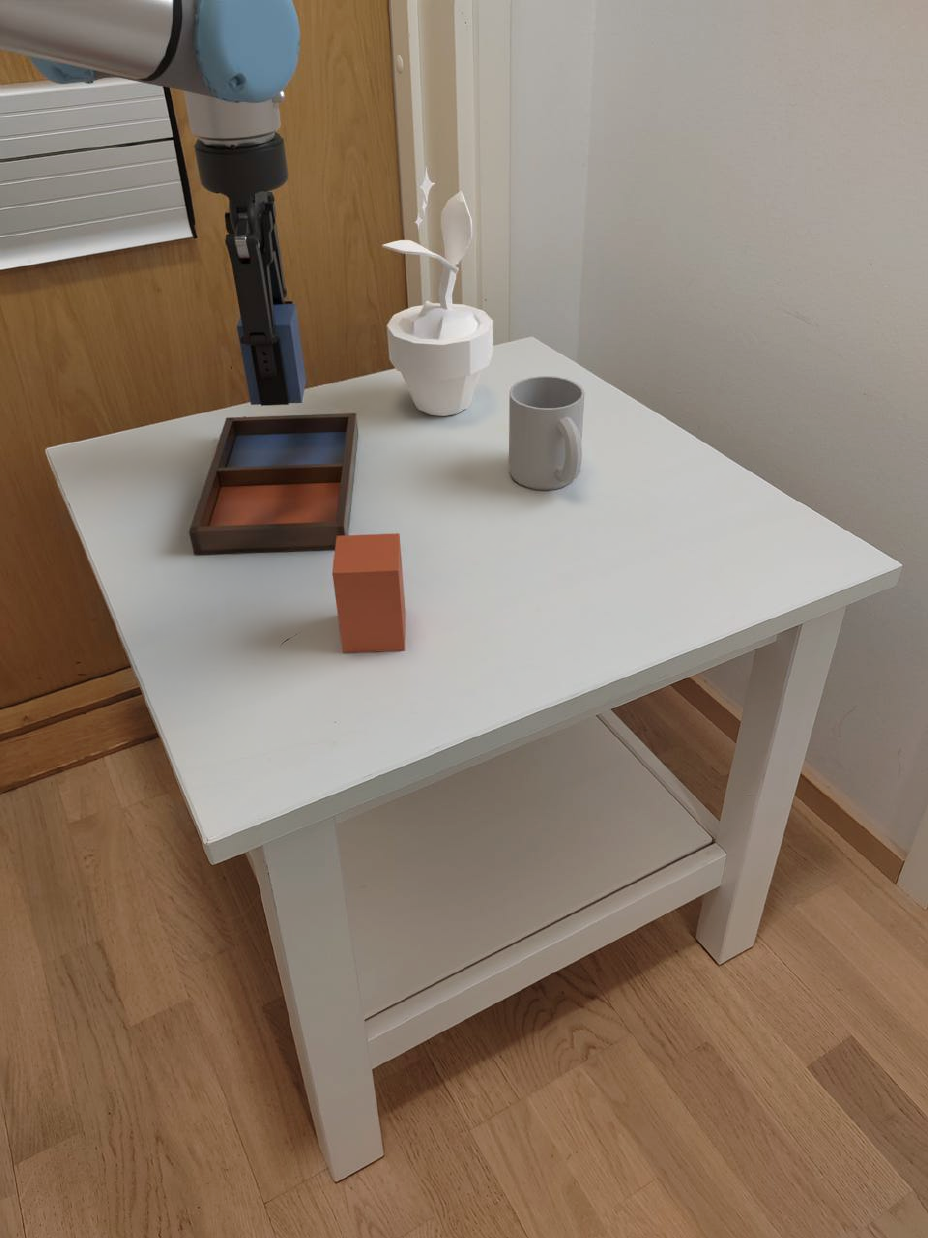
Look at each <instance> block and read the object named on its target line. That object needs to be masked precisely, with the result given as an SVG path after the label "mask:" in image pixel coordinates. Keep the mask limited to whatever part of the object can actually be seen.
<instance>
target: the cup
mask: <svg viewBox="0 0 928 1238" xmlns="http://www.w3.org/2000/svg"><path fill="white" fill-rule="evenodd" d="M585 394H586V393H585V390H584V388H583V387H582V385H580V384H579V383H578V382H576V381H574V380H572V379H569V378H566V377H560V376H553V375H539V376H532V377H527V378H524V379H521V380H519V381H517V382H515V383H514V384H513V385H512V386H511V387H510V390H509V404H508V405H509V408H508V409H509V410H508V412H509V413H508V414H509V415H508V420H509V421H508V471H509V474H510V476H511V477H512V479H513V480H514V481H515V482H516V483H518V484H519V485H521V486H523V487H525V488H527V489H528V488H529V489H532V490H541V491H550V490H556V489H557V490H558V489H561V488H564V487H567V486H568V485H570V484H572V483H573V482H574V481H575V480H576V479H577V478H578V476H579V474H580V471H581V468H582V458H583V451H582V449H583V448H582V447H583V446H582V438H583V423H584V411H585V410H584V406H585Z"/></svg>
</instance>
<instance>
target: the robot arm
mask: <svg viewBox="0 0 928 1238" xmlns="http://www.w3.org/2000/svg"><path fill="white" fill-rule="evenodd" d="M300 30H301V29H300V23H299V18H298V14H297V10H296V8H295V5H294V2H293V0H0V51H3V52H6V53H7V52H8V53H12V54H17V55H21V56H25V57H26V56H27V57H28V59H29V60H30V62H31V63H32V65H33V66H34V68H35V69H36V70H37V71H38V72H39V73H40V74H41V75H42V76H43V77H44V78H46V80H48V81H50V82H53V84H58V85H69V84H79V83H85V84H87V85H90V84H94V82H96V81H97V80H102V79H109V78H110V79H111V78H112V79H113V78H116V79H117V78H118V79H123V80H127V81H128V80H129V81H133V82H136V83H141V84H142V83H143V84H148V85H152V86H158V87H163V88H168V89H169V88H170V89H175V90H179V91H183V96H184V102H185V107H186V114H187V118H188V124H189V129H190V130H189V131H190V133H191V134H192V135H193V136H195V137H196V138H197V140H196V141H195V144H194V146H193V148H194V153H195V159H196V163H197V164H196V165H197V169H198V174H199V180H200V184H201V185H202V187H203V188H204V189H205V190H207V191H208V192H210V193H213V194H216V195H217V194H220V195H221V194H222V195H224V196H225V197H226V198H228V210H229V211H227V212H224V221H225V229H226V232H227V234H225V238H224V243H225V246H226V248H227V252H228V256H229V260H230V264H231V269H232V276H233V281H234V286H235V292H236V297H237V305H238V310H239V315H240V316H241V322H242V328H243V334H244V336H243V337H241V338H240V341H241V344H246V345H250V346H251V352H252V357H253V363H254V369H255V375H256V381H257V386H258V392H259V398H260V404H261V405H260V406H261V407H262V406H263V407H264V406H268V407H269V406H289V405H290V403H289V395H288V389H287V382H286V375H285V369H284V362H283V356H282V349H281V342H280V338H278V335H277V333H276V326H275V317H274V308H273V305H284V304H294V303H293V301H292V300H286V301H285V299H287V296H288V289H287V288H286V282H285V274H284V268H283V260H282V254H281V247H280V240H279V239H280V238H279V234H278V227H277V218H276V217H277V211H276V204H275V200H276V199H275V195H274V193H273V191H274V190H277V189H279V188H281V187H283V186H284V185H285V184H286V182H287V181H288V179H289V169H288V162H287V154H286V146H285V139H284V137H282V135H281V134H280V133H278V132H277V131H278V130H279V129H280V128H281V126H282V120H281V113H280V105H279V103H284V102H285V100H286V93H285V92H284V89H285V88H286V87H287V86H288V85H289V83H290V81H291V80H292V79H293V76H294V74H295V71H296V69H297V66H298V60H299V53H300V49H301V48H300V43H301V31H300ZM240 316H239V317H240Z"/></svg>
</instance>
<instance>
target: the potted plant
mask: <svg viewBox="0 0 928 1238" xmlns="http://www.w3.org/2000/svg"><path fill="white" fill-rule="evenodd" d="M435 184H436V183H435V182H432V181H431V180H430V177H429V174H428V167H427V166H425V175H424V180H423V182H422V184H421V186H419V187H418V189H421V190H422V191H423V193H424V196H425V200H423V203H422V205H421V206H422V207H421V209H422V211H423V215H425V213H426V209H427V206H428V204H427V203H428V201H429V194H430V192H431V191H430V190H431V189H432V187H433V186H434V185H435ZM423 221H424V219H422V218H421V217H420V213H419V211H418V212H417V219H416V221H415V222H414V224H416V225H417V229H418V230H420V225H421V223H422V222H423ZM440 231H441V236H442V241H443V250H444V257H443V256H442V255H440V254H437V253H435V252H433V251H431V250H430V249H427V248H426V247H425V246H422V245H421V244H419V243H418V242H415V241H413V240H410V239H399V240H394V241H390V242H387V243H384V244H381V248H383V249H387V250H390V251H393V252H397V253H400V254H404V255H413V256H414V255H416V256H425V257H429V258H434V259H435V260H437V261H438V262H439V263H441V264H442V265H443V268H442V269H443V270H442V273H441V275H440V281H439V287H438V292H437V296H438V300H439V302H436V303H435V302H431V301H429V300H426V301H425V303H424V304H422V305H421V304H420V305H417V306H416V305H415V306H411V307H408V308H405V309H404V310H402V311H400V312H397V313H395V314H393V315H392V317H391V318H390V320H389V321H388V323H387V324H386V335H387V346H388V347H387V348H388V360H389V361H390V363H391V364H392V366H393V367H394V369H395V371H398V372H400V373H401V376H402V378H403V380H404V382H405V383H404V384H405V385H406V388H407V389H408V390H407V391H408V392H409V395H410V397H411V400H412V402H413V404H414V405H415V407H416V409H417V410H418V411H421V412H424V413H426V414H428V415H431V416H437V417H438V416H439V417H446V416H452V415H457V414H459V413H461V412H463V411H464V410H467V409H469V408H470V405H471V403H472V400H473V397H474V395H475V392H476V389H477V386H478V383H479V379H480V376H481V373H482V370H483V369H486V368H487V367H488V366H489V365H490V363H491V360H492V358H493V355H494V320H493V319H492V318H491V316H489V315H488V314H487V313H486V312H485V310H482V309H480V308H476V307H474V306H470V305H467V304H463V303H461V304H460V303H453V292H454V289H455V285H456V281H457V274H458V273H459V270H460V268H459V267H458V266H457V265H459V264H460V262H461V261H462V259H463V258H464V256H465V255H466V253H467V251H468V249H469V246H470V244H471V242H472V240H473V237H474V235H473V234H474V233H473V219H472V216H471V213H470V211H469V207H468V205H467V202H466V199H465V196H464V193H463V190H460V191H459V192H457V193H456V194H455V195H453V196H452V197H451V198H449V199H448V200H447V201H446V203H445V205H444V206H443V208H442V210H441V211H440Z"/></svg>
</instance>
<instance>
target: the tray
mask: <svg viewBox="0 0 928 1238" xmlns="http://www.w3.org/2000/svg"><path fill="white" fill-rule="evenodd" d="M358 439H359V427H358V419H357V412H345V413H343V412H341V413H317V414H314V413H313V414H312V413H311V414H289V415H287V414H286V415H263V416H262V415H261V416H259V415H258V416H234V417H231V416H230V417H226V418H225V421H224V424H223V427H222V430H221V433H220V436H219V439H218V442H217V445H216V448H215V451H214V454H213V457H212V461H211V463H210V465H209V466H210V467H209V470H208V473H207V475H206V479H205V481H204V485H203V488H202V491H201V493H200V497H199V500H198V503H197V506H196V509H195V512H194V515H193V517H192V521H191V524H190V527H189V531H188V534H189V538H190V543H191V547H192V552H193V554H194V556H203V555H205V556H206V555H228V554H229V555H230V554H231V555H232V554H233V555H234V554H256V553H260V554H261V553H283V552H308V551H311V552H312V551H335V545H336V537H337V536H343V535H349V531H350V520H351V510H352V509H351V508H352V500H353V499H352V498H353V490H354V481H355V480H354V479H355V469H356V460H357V451H358V449H357V448H358Z"/></svg>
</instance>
